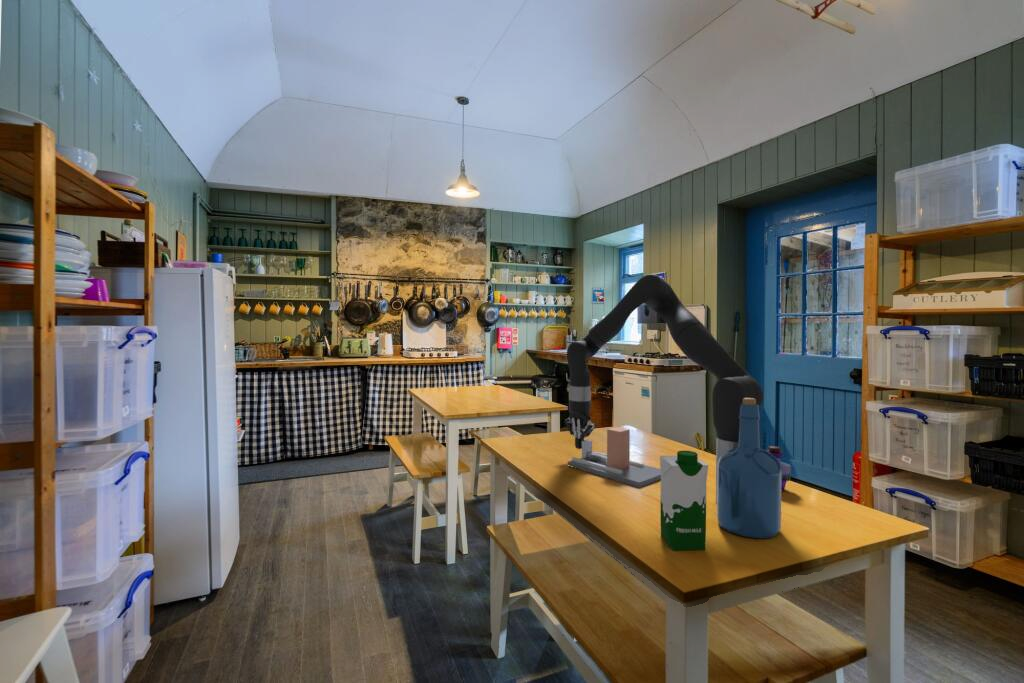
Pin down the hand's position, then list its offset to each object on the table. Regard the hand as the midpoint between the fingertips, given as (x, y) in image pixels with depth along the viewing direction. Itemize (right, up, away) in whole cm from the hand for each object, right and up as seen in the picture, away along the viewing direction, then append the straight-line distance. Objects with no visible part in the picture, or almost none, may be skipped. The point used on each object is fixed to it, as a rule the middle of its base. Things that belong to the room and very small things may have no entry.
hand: (579, 448), depth 166 cm
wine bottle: (+31, -6, -56) cm, 64 cm away
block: (+11, -3, -13) cm, 17 cm away
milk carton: (+13, -7, -63) cm, 64 cm away
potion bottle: (+52, -5, -29) cm, 59 cm away
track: (+10, -5, -12) cm, 17 cm away
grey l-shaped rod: (+5, -3, -6) cm, 9 cm away
